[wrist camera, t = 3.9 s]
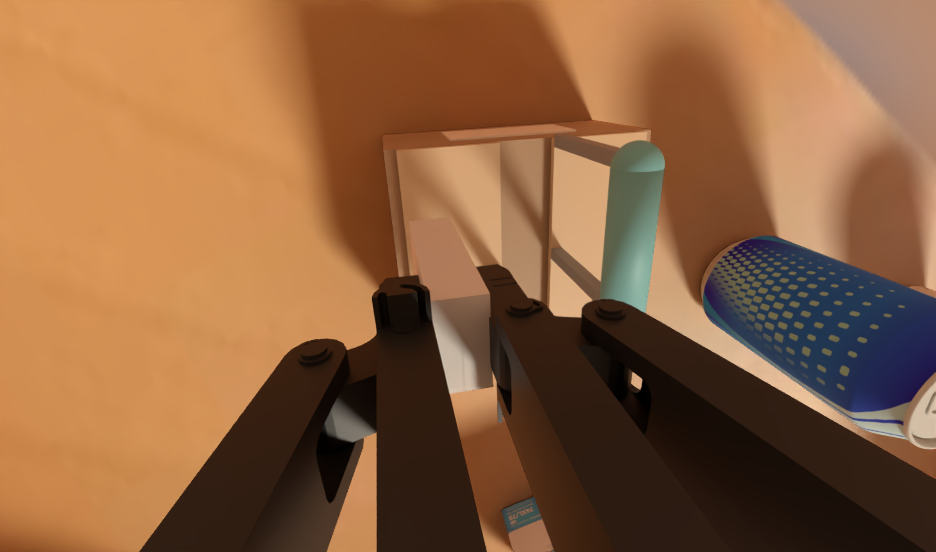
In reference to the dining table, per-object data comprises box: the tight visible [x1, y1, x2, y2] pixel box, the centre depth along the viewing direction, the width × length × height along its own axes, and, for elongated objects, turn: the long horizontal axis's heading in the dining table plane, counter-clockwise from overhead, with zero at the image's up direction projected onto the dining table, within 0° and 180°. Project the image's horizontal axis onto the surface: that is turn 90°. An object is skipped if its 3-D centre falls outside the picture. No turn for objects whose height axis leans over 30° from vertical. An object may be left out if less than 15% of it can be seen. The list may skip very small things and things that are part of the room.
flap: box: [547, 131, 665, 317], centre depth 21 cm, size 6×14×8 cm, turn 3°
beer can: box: [701, 235, 936, 449], centre depth 30 cm, size 8×8×16 cm
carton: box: [382, 120, 651, 305], centre depth 28 cm, size 14×13×7 cm
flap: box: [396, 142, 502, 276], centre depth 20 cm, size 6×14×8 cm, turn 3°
